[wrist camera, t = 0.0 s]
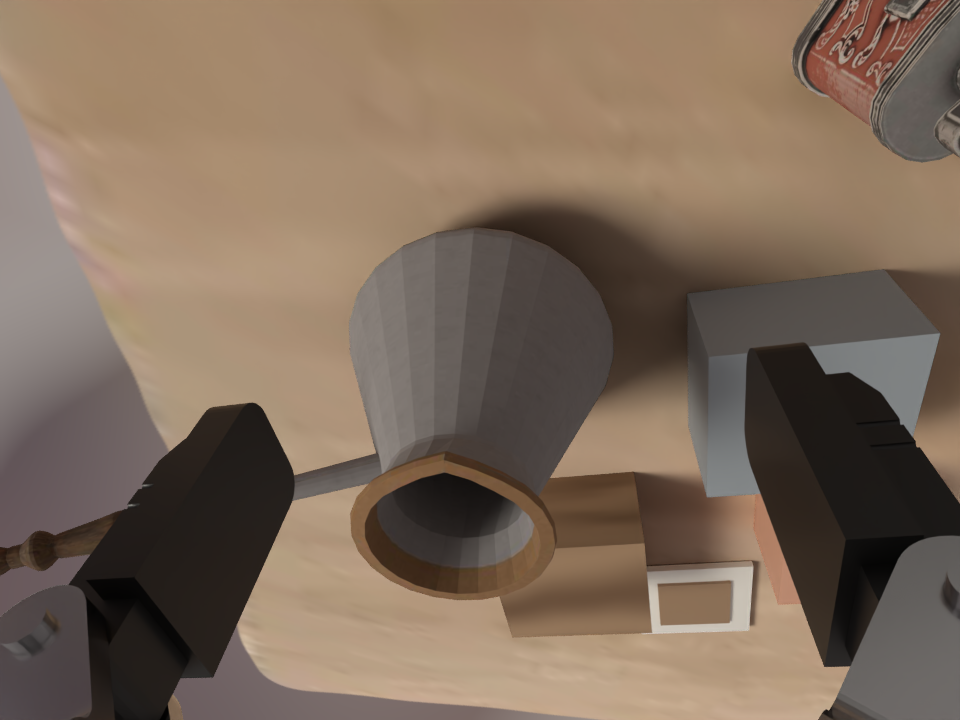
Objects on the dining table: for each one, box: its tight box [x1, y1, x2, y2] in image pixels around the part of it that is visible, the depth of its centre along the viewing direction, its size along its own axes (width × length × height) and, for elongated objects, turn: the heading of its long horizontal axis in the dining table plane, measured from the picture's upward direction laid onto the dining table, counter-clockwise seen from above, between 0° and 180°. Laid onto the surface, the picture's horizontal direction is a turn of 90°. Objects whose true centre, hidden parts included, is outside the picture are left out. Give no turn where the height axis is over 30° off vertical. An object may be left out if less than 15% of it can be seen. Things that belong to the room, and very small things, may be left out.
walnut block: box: [500, 472, 652, 637], centre depth 36 cm, size 8×8×5 cm
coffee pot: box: [0, 227, 614, 600], centre depth 24 cm, size 21×12×15 cm, turn 92°
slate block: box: [687, 269, 940, 497], centre depth 28 cm, size 8×8×5 cm
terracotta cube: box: [754, 494, 801, 605], centre depth 33 cm, size 5×5×5 cm
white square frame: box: [642, 561, 753, 634], centre depth 41 cm, size 7×7×1 cm
